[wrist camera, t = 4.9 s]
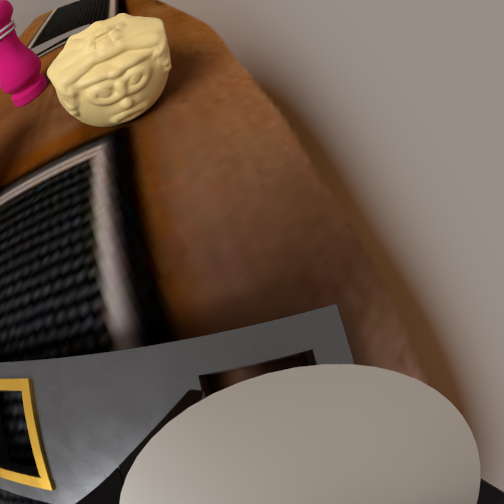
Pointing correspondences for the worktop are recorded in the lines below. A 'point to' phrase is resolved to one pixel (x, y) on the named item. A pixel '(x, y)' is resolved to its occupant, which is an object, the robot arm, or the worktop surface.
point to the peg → (312, 444)
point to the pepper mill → (17, 62)
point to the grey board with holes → (136, 396)
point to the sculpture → (112, 70)
